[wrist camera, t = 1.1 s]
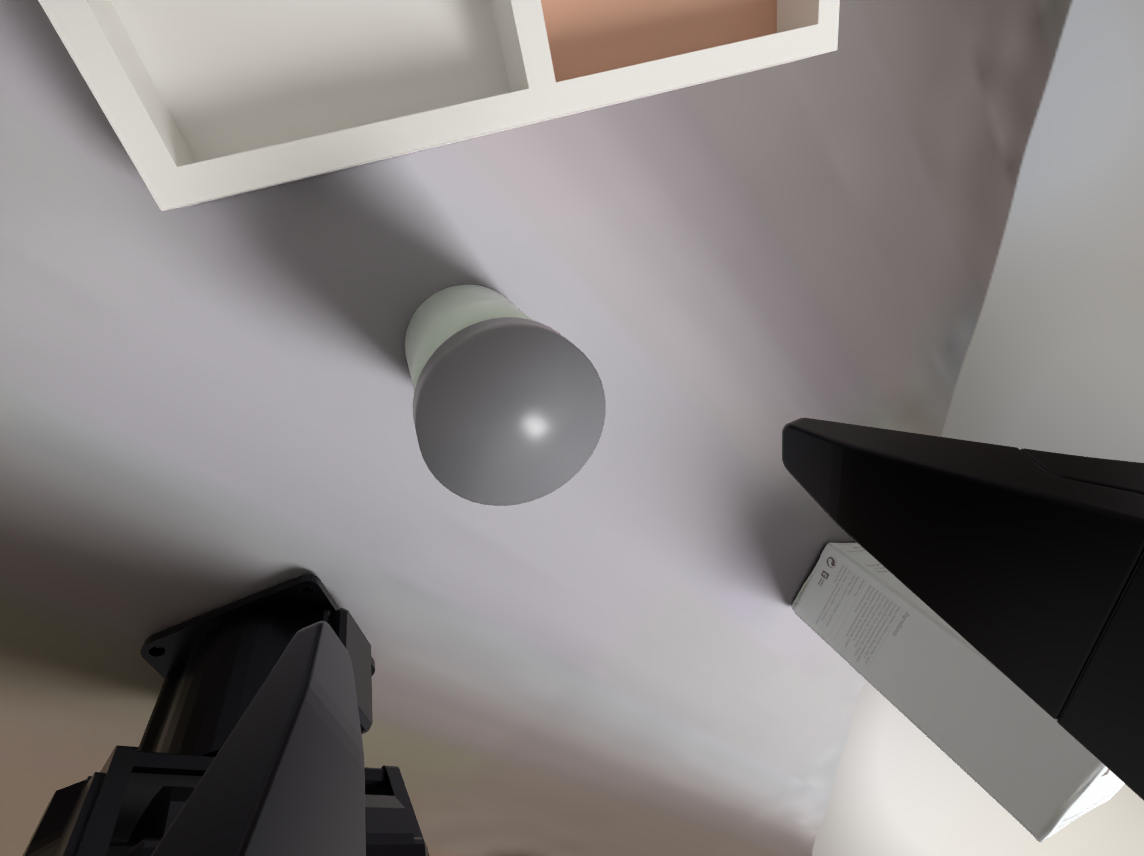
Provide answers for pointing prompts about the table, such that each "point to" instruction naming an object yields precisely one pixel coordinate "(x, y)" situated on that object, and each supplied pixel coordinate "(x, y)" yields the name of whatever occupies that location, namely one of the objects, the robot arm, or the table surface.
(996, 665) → the robot arm
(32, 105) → the table surface
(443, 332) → the grey mushroom
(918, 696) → the skincare box
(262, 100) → the sorting tray
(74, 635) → the table surface
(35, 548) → the table surface
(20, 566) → the table surface
